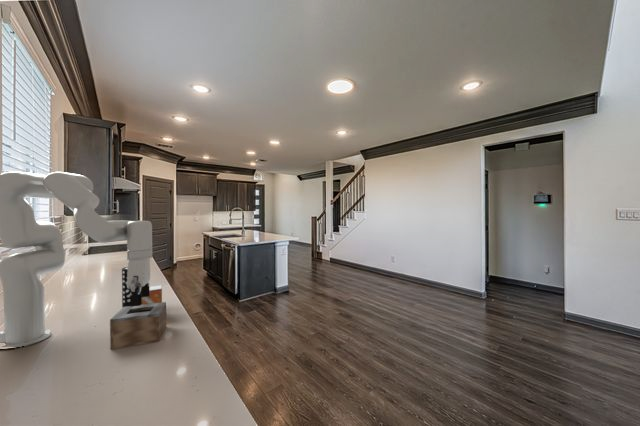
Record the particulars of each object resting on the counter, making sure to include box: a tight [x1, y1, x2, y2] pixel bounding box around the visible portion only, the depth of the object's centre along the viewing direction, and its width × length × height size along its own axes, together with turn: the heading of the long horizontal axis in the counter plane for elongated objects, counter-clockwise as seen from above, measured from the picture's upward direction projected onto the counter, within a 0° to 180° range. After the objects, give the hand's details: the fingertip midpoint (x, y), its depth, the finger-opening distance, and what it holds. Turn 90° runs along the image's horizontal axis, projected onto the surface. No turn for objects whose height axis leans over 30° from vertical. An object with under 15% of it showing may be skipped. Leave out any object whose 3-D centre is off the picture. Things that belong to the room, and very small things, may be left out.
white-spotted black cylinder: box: [121, 266, 139, 309], centre depth 117 cm, size 8×8×20 cm
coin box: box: [109, 301, 167, 350], centre depth 92 cm, size 14×12×10 cm
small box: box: [141, 285, 163, 305], centre depth 109 cm, size 8×6×13 cm
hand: (140, 301), depth 92 cm, fingers open, 9 cm apart
